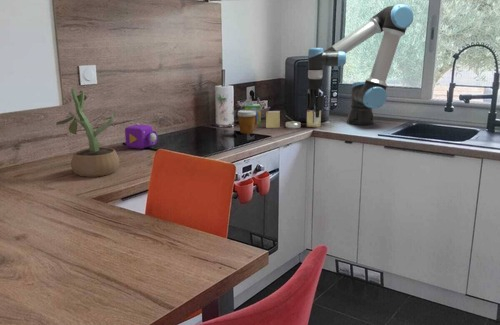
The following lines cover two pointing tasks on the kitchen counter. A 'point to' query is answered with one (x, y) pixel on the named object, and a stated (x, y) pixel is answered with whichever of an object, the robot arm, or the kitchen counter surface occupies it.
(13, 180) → the kitchen counter surface
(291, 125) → the base plate
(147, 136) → the toy camera
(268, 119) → the tan striped slab
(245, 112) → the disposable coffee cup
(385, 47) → the robot arm
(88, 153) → the potted plant
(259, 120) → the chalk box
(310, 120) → the yellow white layered bar
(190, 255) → the kitchen counter surface
